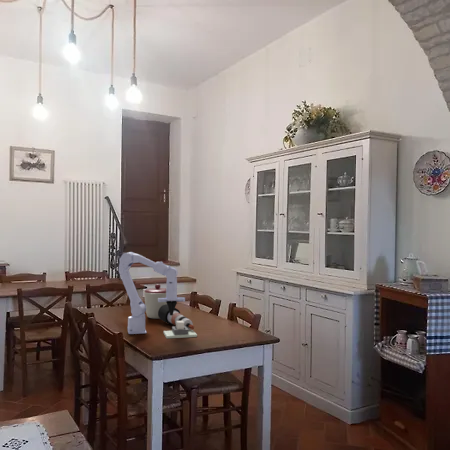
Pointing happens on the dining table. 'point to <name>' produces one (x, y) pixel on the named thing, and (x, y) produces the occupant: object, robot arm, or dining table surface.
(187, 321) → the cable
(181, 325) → the plug
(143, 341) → the dining table surface
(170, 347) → the dining table surface
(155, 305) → the canister
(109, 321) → the dining table surface
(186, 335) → the board
